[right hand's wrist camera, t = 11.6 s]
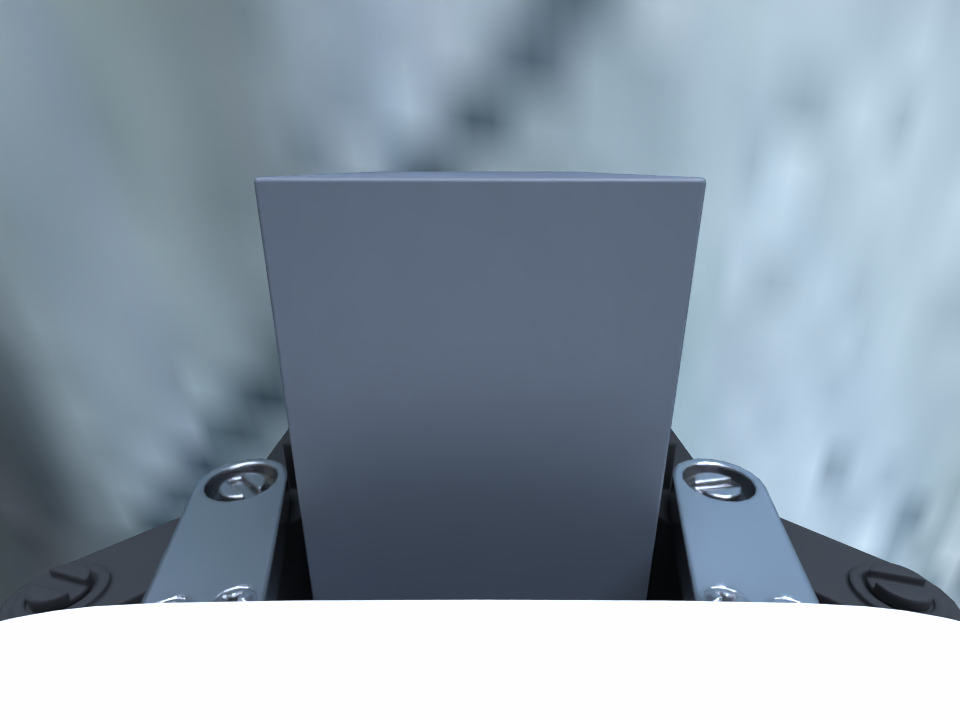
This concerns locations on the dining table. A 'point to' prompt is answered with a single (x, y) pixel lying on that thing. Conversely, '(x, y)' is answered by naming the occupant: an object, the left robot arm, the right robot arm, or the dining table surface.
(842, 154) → the dining table surface
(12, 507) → the dining table surface
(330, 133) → the dining table surface
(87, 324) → the dining table surface
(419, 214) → the bar
